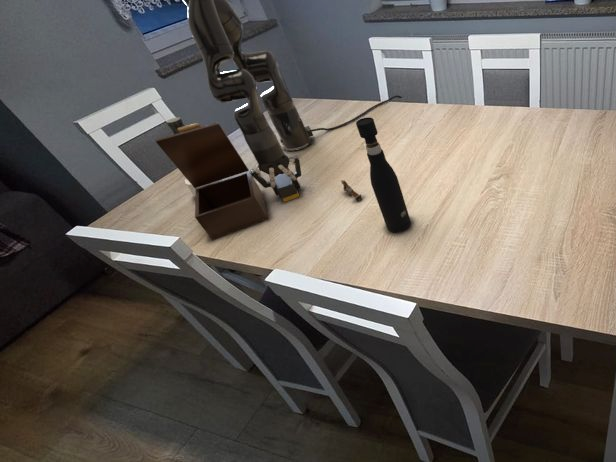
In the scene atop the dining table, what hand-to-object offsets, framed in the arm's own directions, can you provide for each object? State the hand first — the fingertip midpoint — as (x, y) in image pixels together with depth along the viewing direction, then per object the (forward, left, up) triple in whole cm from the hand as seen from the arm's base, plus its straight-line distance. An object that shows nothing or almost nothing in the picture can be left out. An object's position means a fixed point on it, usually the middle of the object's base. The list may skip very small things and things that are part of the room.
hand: (289, 192), depth 124 cm
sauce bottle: (+23, -33, -1) cm, 40 cm away
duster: (0, 0, 0) cm, 0 cm away
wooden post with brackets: (-16, +15, -1) cm, 22 cm away
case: (+15, +2, 0) cm, 15 cm away
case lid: (+15, -4, +16) cm, 22 cm away
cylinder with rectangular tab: (+22, -18, -1) cm, 28 cm away
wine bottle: (-23, +37, -1) cm, 44 cm away
